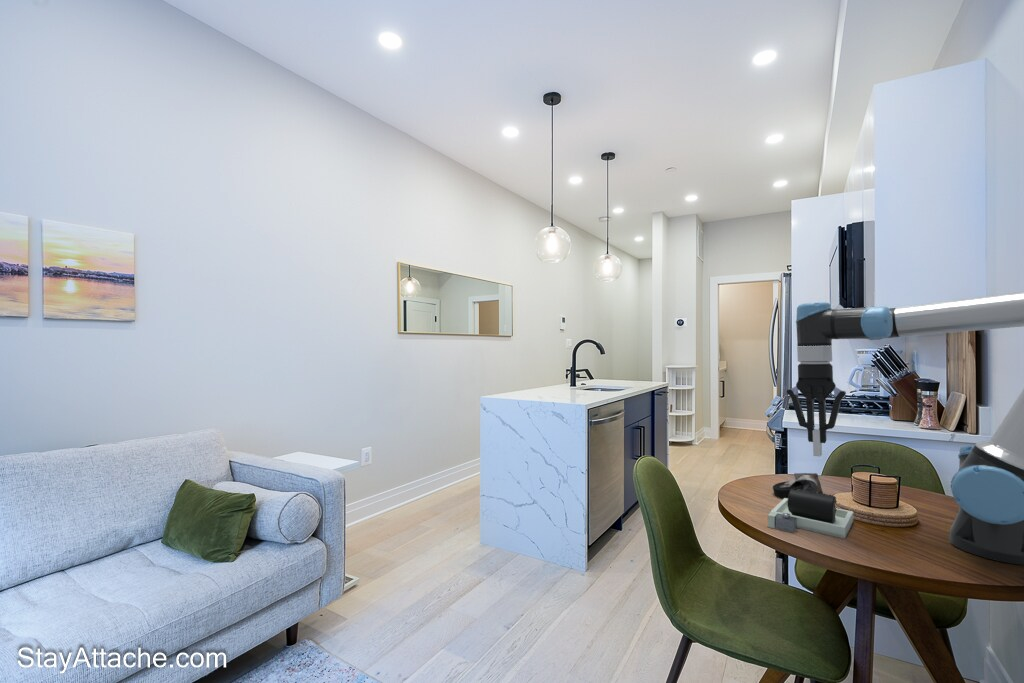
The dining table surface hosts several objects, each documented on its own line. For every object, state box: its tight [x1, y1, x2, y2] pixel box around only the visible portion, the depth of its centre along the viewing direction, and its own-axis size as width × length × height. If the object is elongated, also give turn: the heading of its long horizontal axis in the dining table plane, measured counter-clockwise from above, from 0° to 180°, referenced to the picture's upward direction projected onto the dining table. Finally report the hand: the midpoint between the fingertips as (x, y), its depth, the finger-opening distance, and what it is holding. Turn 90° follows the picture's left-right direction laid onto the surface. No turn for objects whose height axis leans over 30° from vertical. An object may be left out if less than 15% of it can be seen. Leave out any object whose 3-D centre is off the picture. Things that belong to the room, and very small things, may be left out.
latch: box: [775, 513, 798, 534], centre depth 118 cm, size 4×3×4 cm
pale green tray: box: [767, 498, 854, 540], centre depth 122 cm, size 16×20×3 cm
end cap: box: [787, 489, 838, 524], centre depth 123 cm, size 10×7×7 cm
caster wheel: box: [772, 472, 824, 499], centre depth 143 cm, size 7×11×10 cm
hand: (817, 455), depth 120 cm, fingers closed
